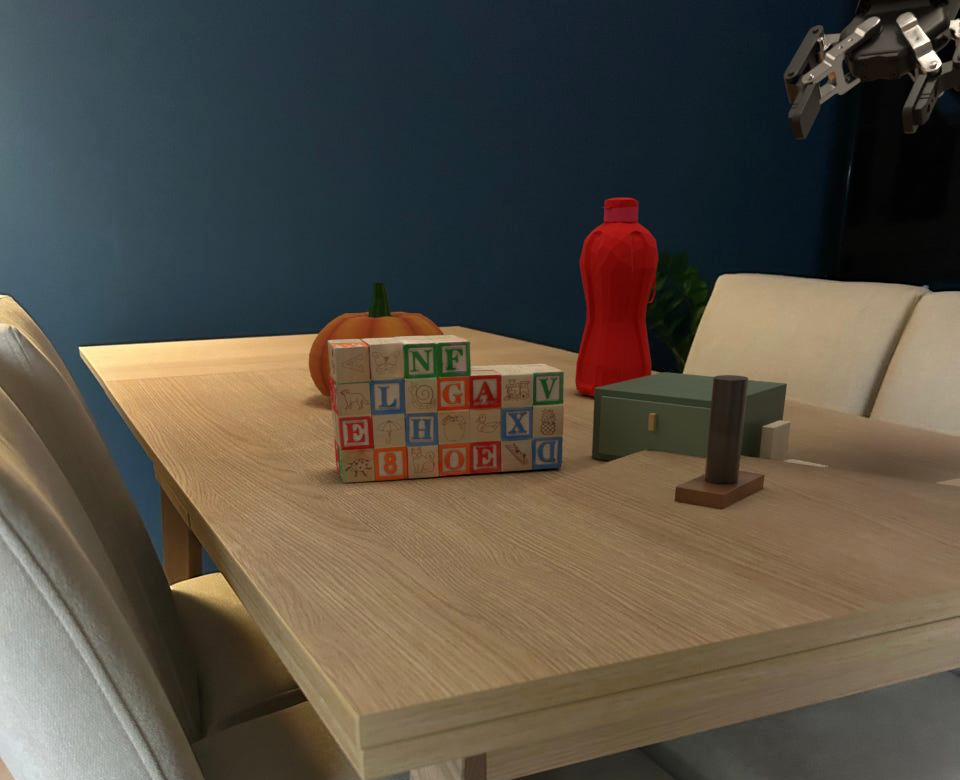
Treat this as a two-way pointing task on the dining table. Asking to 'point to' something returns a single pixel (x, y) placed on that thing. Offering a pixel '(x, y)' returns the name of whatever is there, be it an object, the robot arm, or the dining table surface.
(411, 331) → the pumpkin
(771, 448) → the block
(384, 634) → the dining table surface
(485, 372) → the stack of blocks
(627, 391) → the cabinet
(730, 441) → the brush
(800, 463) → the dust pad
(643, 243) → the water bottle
